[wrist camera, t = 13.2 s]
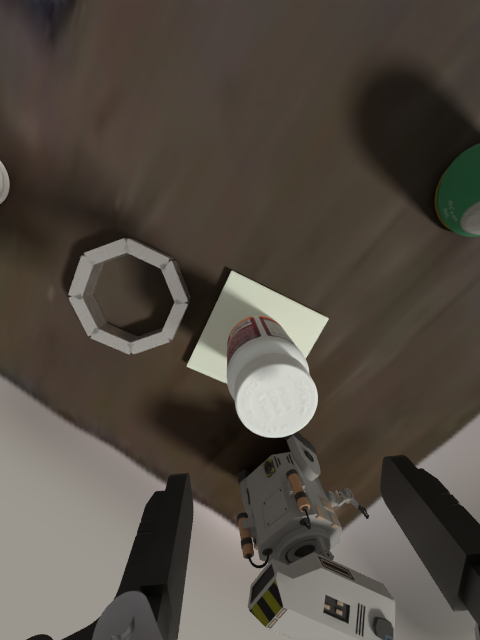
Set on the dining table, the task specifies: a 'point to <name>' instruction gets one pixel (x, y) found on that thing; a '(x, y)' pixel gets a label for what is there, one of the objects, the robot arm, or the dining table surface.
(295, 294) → the dining table surface
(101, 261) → the steel collar
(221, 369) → the sage pad
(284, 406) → the pill bottle
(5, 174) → the chess piece
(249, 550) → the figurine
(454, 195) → the beverage can
